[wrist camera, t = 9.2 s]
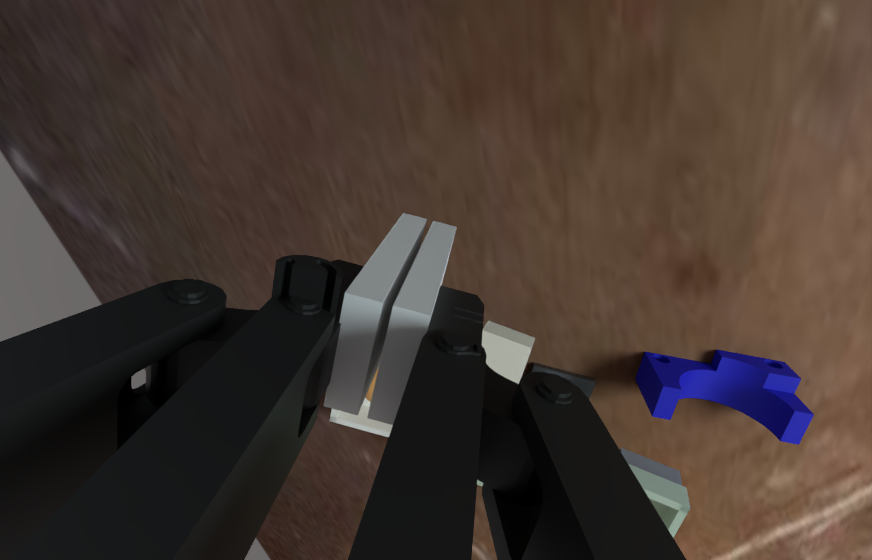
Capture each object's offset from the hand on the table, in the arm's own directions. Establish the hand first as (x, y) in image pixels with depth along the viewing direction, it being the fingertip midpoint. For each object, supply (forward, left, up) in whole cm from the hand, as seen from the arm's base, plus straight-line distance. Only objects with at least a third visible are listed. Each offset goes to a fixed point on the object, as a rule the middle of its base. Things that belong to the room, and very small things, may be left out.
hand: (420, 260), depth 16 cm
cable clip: (+26, -14, -29) cm, 41 cm away
